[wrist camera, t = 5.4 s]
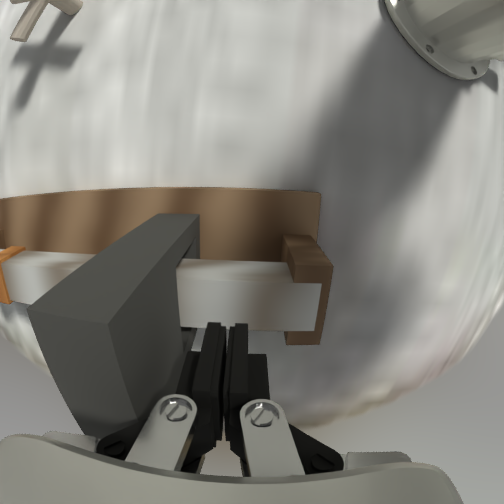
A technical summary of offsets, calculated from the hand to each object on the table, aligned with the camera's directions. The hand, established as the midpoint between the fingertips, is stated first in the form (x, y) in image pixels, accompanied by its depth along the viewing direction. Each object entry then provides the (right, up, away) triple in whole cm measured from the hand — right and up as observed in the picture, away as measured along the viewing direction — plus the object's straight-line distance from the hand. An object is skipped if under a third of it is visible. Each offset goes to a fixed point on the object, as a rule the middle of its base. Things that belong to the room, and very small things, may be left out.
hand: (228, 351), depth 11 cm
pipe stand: (-10, +4, +10) cm, 15 cm away
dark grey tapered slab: (-4, +3, +9) cm, 10 cm away
